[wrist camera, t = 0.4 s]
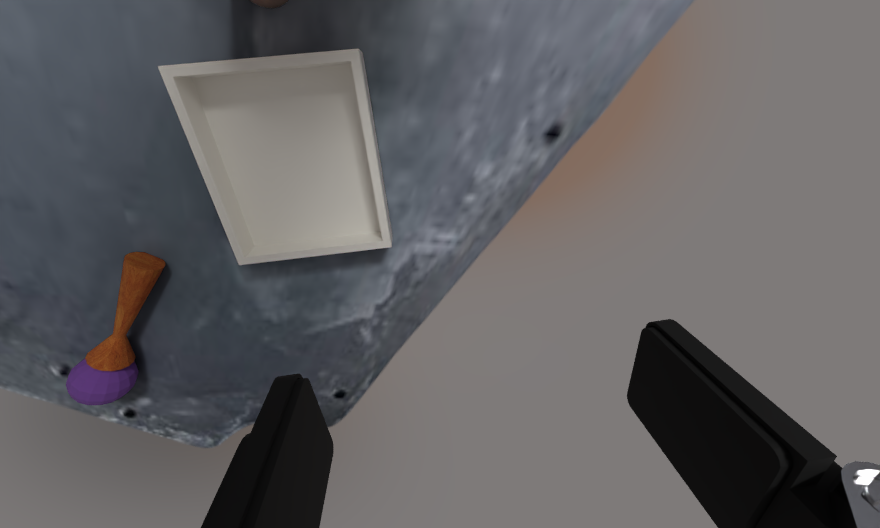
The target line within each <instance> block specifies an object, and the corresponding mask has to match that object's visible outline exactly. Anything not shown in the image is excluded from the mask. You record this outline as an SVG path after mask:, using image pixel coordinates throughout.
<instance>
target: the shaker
mask: <svg viewBox="0 0 880 528" xmlns="http://www.w3.org/2000/svg"><path fill="white" fill-rule="evenodd" d="M250 1H251V2H253V3H255V4H256V5H258V6H261V7H264V8H277V7H280V6H282V5H284V4H285V3H286V2H288V0H250Z"/></svg>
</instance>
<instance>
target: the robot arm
mask: <svg viewBox="0 0 880 528" xmlns="http://www.w3.org/2000/svg"><path fill="white" fill-rule="evenodd" d="M627 399H628V403H629V405H630V407H631V408H632V410H633V411H634V412H635V414H636V415H637V417H638V418H639V419H640V421H641V422H642V423H643V425H644V426H645V428H646V429H647V430H648V432H649V433H650V434H651V436H652V437H653V439H654V440H655V441H656V443H657V444H658V446H659V447H660V448H661V449H662V451H663V452H664V454H665V455H666V456H667V458H668V459H669V461H670V462H671V463H672V465H673V466H674V468H675V469H676V470H677V472H678V473H679V474H680V476H681V477H682V479H683V480H684V481H685V482H686V484H687V485H688V487H689V488H690V490H691V491H692V492H693V494H694V495H695V497H696V498H697V499H698V500H699V502H700V503H701V505H702V506H703V507H704V509H705V510H706V512H707V513H708V514H709V516H710V517H711V519H712V520H713V521H714V523H715V524H716V525H717V527H718V528H880V465H877V464H874V463H869V462H852V463H848V464H846V465H845V466H844V467H843V468H842V467H840V466H839V465H838V464H837V463H836V462H834V460H835V458H836V457H837V456H836V455H835V454H834V453H832V452H831V451H830V450H829V449H828V448H826V447H825V446H824V445H823V444H821V443H820V442H819V441H818V440H816V438H814V437H813V436H812V435H811V434H810V433H809V432H807V431H806V430H805V429H804V428H803V427H801V426H800V425H799V424H798V423H797V422H795V421H794V420H793V419H792V418H790V417H789V416H788V415H787V414H786V413H785V412H783V411H782V410H781V409H780V408H779V407H777V406H776V405H775V404H774V403H773V402H772V401H770V400H769V399H768V398H767V397H765V396H764V395H763V394H762V393H761V392H760V391H758V390H757V389H756V388H755V387H754V386H752V385H751V384H750V383H749V382H747V381H746V380H745V379H744V378H743V377H742V376H741V375H739V374H738V373H737V372H735V371H734V370H733V369H732V368H731V367H730V366H729V365H727V364H726V363H725V362H724V361H723V360H721V359H720V358H719V357H718V356H717V355H715V354H714V353H713V352H712V351H711V350H709V349H708V348H707V347H706V346H705V345H703V344H702V343H701V342H700V341H699V340H698V339H696V338H695V337H694V336H693V335H692V334H690V333H689V332H688V331H687V330H686V329H684V328H683V327H682V326H681V325H680V324H678V323H677V322H676V321H674V320H671V319H668V320H661V321H655V322H649V323H648V324H647V326H646V328H644V329H643V330H642V332H641V336H640V341H639V344H638V349H637V353H636V358H635V362H634V366H633V371H632V375H631V379H630V384H629V388H628V393H627ZM332 457H333V441H332V438H331V435H330V433H329V430H328V428H327V425H326V422H325V420H324V417H323V415H322V412H321V409H320V407H319V404H318V402H317V399H316V397H315V394H314V391H313V389H312V386H311V384H310V381H309V379H308V378H304V379H303V378H302V376H301V375H300V374H293V375H286V376H280V377H277V378H275V380H274V381H273V384H272V386H271V388H270V390H269V393H268V395H267V397H266V399H265V402H264V404H263V406H262V408H261V411H260V413H259V415H258V417H257V420H256V422H255V424H254V426H253V429H252V431H251V433H250V434H247V435H246V436H245V437H244V438H243V439H242V441H241V443H240V444H239V446H238V448H237V450H236V453H235V455H234V457H233V459H232V461H231V463H230V465H229V468H228V470H227V472H226V474H225V476H224V478H223V481H222V483H221V485H220V487H219V489H218V492H217V494H216V496H215V498H214V500H213V503H212V505H211V507H210V509H209V511H208V513H207V516H206V518H205V520H204V522H203V525H202V526H201V528H319V526H320V521H321V515H322V510H323V504H324V500H325V494H326V489H327V483H328V478H329V473H330V468H331V462H332Z"/></svg>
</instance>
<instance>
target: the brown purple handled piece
mask: <svg viewBox="0 0 880 528" xmlns="http://www.w3.org/2000/svg"><path fill="white" fill-rule="evenodd" d="M164 267H165V262H164V260H162V259H160V258H157V257H155V256H152V255H150V254H147V253H145V252H133V253H129V254H127V255H126V256H125V258H124V263H123V270H122V277H121V283H120V290H119V297H118V303H117V310H116V317H115V324H114V330H113V334H112V335H111V336H109V337H108V338H107V339H106V340H104V341H103V342H102V343H100V344H99V345H98V346H96V347H95V348H94V349H93V350H91V351H90V352H89V353H87V356H86V358H85V359H84V360H82V361H81V362H80V363H79V364H77V365H76V366H75V367H74V368H72V370H71V372H70V374H69V376H68V379H67V383H66V387H67V390H68V393H69V394H70V396H71V397H72V398H73V399H74V400H76V401H77V402H78V403H82V404H86V405H103V404H107V403H111V402H113V401H115V400H117V399H119V398H121V397H122V396H124V395H125V394H126V393H128V392H129V391H130V389H131V388H132V387H133V386H134V385H135V382H136V379H137V376H138V372H139V371H138V369H137V366H136V364H135V362H134V360H135V354H134V352H133V350H132V347H131V345H130V343H129V341H128V338H127V336H126V334H127V332H128V331H129V329H130V327H131V325H132V323H133V322H134V320H135V318H136V316H137V315H138V313H139V311H140V309H141V307H142V306H143V304H144V302H145V300H146V299H147V297H148V295H149V293H150V292H151V290H152V288H153V286H154V284H155V283H156V281H157V279H158V277H159V276H160V274H161V272H162V270H163V268H164Z"/></svg>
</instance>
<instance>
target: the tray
mask: <svg viewBox="0 0 880 528" xmlns="http://www.w3.org/2000/svg"><path fill="white" fill-rule="evenodd" d="M158 68H159V71H160V73H161V76H162V78H163V81H164V83H165V85H166V88H167V90H168V93H169V95H170V98H171V100H172V103H173V105H174V107H175V110H176V112H177V115H178V117H179V120H180V122H181V125H182V127H183V129H184V132H185V134H186V137H187V139H188V142H189V144H190V147H191V149H192V151H193V154H194V156H195V159H196V161H197V164H198V166H199V169H200V171H201V174H202V176H203V178H204V181H205V183H206V186H207V188H208V191H209V193H210V196H211V198H212V200H213V203H214V205H215V208H216V210H217V213H218V215H219V218H220V220H221V222H222V225H223V227H224V230H225V232H226V235H227V237H228V240H229V242H230V245H231V247H232V249H233V252H234V254H235V257H236V259H237V262H238V264H239V265H245V264H254V263H262V262H271V261H279V260H288V259H296V258H304V257H313V256H321V255H330V254H338V253H347V252H355V251H363V250H372V249H380V248H389V247H392V229H391V223H390V217H389V210H388V204H387V198H386V192H385V186H384V180H383V173H382V167H381V161H380V155H379V149H378V142H377V136H376V130H375V124H374V118H373V112H372V105H371V99H370V93H369V87H368V81H367V74H366V68H365V62H364V56H363V52H362V51H361V50H360V49H347V50H336V51H325V52H313V53H302V54H290V55H279V56H268V57H256V58H245V59H234V60H222V61H211V62H200V63H188V64H177V65H165V66H158Z"/></svg>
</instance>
